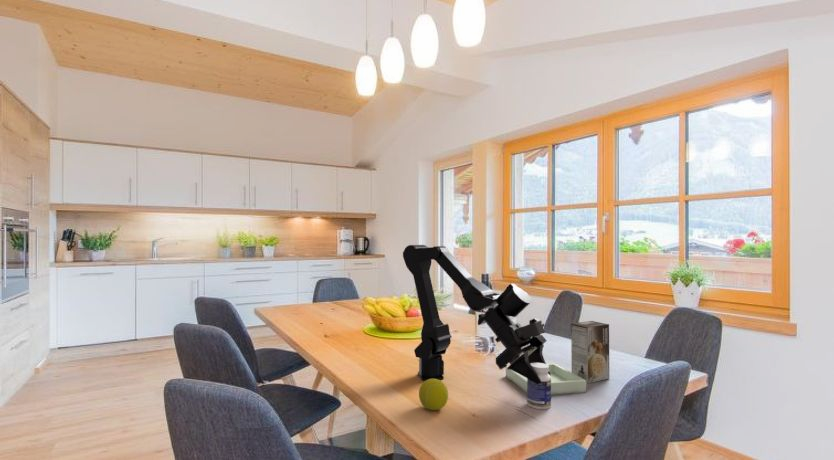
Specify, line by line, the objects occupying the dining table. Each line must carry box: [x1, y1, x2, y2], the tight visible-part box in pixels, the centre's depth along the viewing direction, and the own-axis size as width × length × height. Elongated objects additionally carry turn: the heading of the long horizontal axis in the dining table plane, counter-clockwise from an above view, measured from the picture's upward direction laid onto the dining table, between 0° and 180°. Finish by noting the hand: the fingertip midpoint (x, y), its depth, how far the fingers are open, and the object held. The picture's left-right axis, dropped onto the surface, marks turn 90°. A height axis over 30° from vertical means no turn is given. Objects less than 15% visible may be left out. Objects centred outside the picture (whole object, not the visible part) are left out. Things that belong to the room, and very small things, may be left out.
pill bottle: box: [526, 363, 552, 410], centre depth 106 cm, size 6×6×10 cm
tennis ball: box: [418, 379, 449, 411], centre depth 103 cm, size 7×7×7 cm
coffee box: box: [570, 320, 610, 384], centre depth 127 cm, size 9×6×16 cm
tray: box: [505, 363, 587, 396], centre depth 121 cm, size 16×16×3 cm
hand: (544, 379), depth 105 cm, fingers closed on pill bottle, 6 cm apart
